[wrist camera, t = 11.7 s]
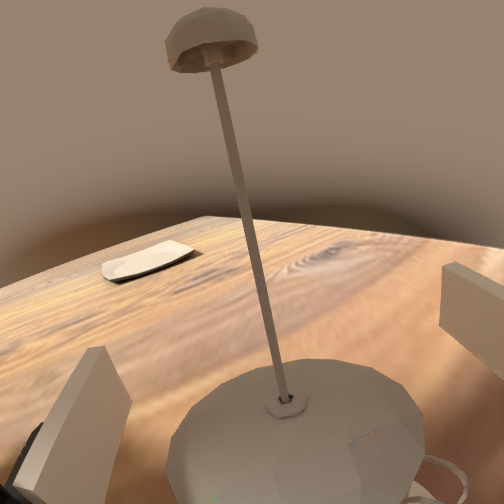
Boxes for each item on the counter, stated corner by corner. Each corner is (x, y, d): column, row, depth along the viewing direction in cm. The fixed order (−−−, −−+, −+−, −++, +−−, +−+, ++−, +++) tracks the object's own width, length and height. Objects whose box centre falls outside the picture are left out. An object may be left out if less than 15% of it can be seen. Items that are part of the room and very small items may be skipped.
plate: (108, 292, 76) (105, 282, 76) (100, 270, 101) (98, 263, 100) (203, 257, 90) (200, 248, 89) (173, 245, 114) (171, 238, 113)
